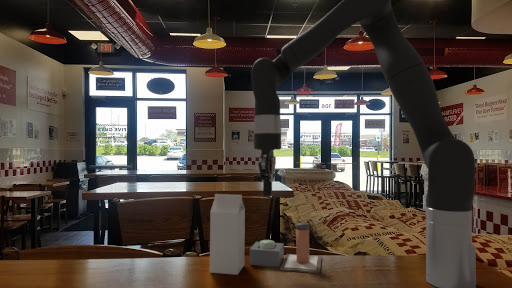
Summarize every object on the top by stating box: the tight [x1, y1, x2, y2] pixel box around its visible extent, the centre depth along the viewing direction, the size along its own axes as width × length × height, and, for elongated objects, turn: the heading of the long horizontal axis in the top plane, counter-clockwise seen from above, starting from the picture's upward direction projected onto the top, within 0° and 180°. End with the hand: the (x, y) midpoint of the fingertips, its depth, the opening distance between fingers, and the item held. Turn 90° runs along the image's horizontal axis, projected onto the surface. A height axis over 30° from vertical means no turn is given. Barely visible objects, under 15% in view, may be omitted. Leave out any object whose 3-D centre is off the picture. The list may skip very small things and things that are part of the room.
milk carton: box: [209, 193, 246, 275], centre depth 88 cm, size 7×7×19 cm
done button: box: [259, 239, 276, 249], centre depth 95 cm, size 4×4×5 cm
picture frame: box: [279, 253, 323, 275], centre depth 92 cm, size 10×13×1 cm
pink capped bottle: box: [295, 222, 310, 264], centre depth 92 cm, size 4×4×10 cm
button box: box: [248, 241, 285, 268], centre depth 95 cm, size 8×8×4 cm
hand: (267, 195), depth 95 cm, fingers closed
